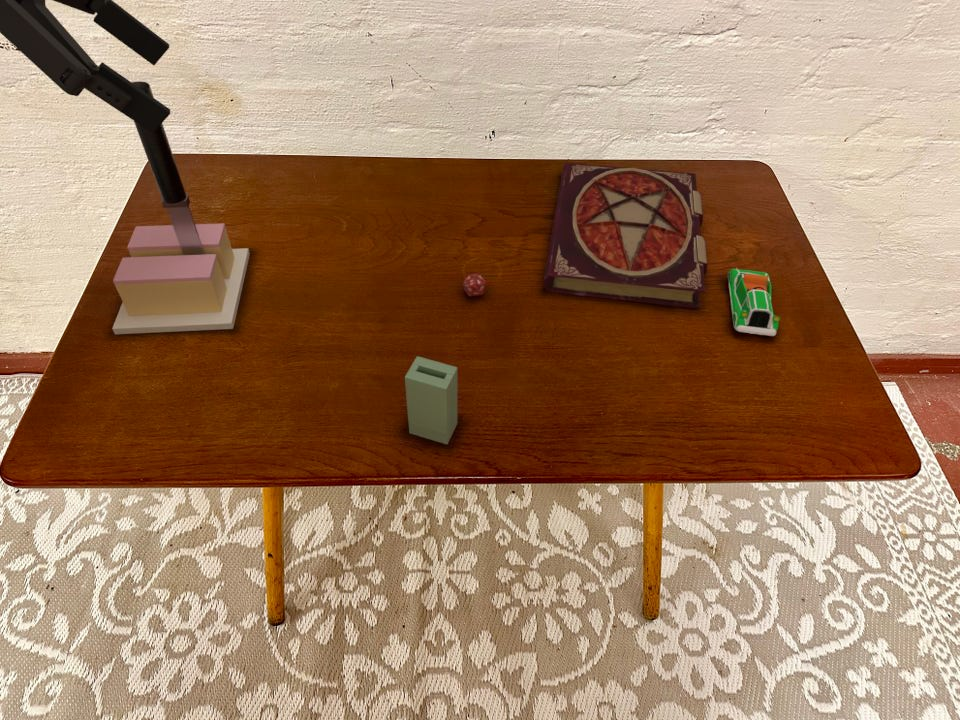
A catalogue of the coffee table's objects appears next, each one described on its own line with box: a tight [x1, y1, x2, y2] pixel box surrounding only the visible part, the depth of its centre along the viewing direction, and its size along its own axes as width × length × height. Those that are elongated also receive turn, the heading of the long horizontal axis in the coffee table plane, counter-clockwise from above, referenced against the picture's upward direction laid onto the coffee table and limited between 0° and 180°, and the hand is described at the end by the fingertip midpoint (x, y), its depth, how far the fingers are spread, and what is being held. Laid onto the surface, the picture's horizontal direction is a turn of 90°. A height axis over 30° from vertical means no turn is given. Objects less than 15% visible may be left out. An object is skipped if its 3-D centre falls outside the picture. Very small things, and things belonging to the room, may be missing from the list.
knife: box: [131, 80, 205, 255], centre depth 78 cm, size 3×3×26 cm
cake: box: [111, 222, 251, 335], centre depth 86 cm, size 15×14×7 cm
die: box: [462, 273, 487, 297], centre depth 88 cm, size 3×3×3 cm
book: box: [542, 162, 708, 310], centre depth 97 cm, size 28×21×5 cm
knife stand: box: [404, 355, 459, 445], centre depth 71 cm, size 3×4×9 cm
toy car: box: [727, 267, 781, 337], centre depth 87 cm, size 12×5×4 cm, turn 170°
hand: (162, 86), depth 68 cm, fingers open, 13 cm apart
